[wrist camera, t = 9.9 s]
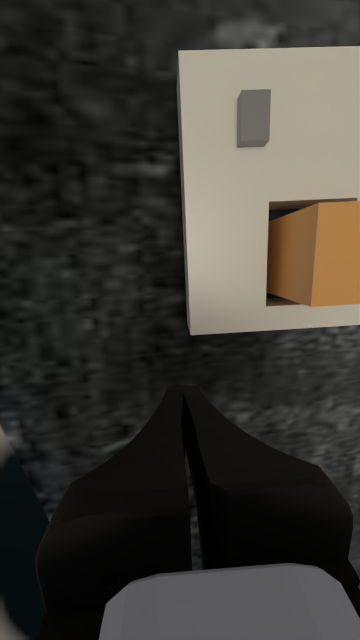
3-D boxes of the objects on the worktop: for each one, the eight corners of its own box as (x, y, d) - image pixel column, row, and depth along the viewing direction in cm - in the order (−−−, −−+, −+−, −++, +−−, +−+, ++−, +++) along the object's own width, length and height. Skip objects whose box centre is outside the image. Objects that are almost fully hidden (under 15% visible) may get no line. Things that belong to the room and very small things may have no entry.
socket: (332, 315, 20) (368, 327, 17) (187, 324, 20) (191, 338, 16) (355, 82, 17) (408, 32, 13) (176, 88, 16) (179, 37, 13)
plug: (311, 287, 20) (385, 302, 13) (261, 290, 20) (310, 306, 13) (316, 220, 19) (401, 199, 12) (263, 223, 19) (318, 202, 12)
